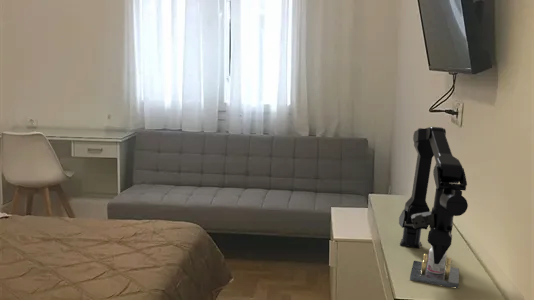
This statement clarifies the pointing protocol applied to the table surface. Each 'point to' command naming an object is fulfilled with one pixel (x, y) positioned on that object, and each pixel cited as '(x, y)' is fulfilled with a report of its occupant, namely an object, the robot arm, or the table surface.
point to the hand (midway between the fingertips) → (436, 258)
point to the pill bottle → (435, 267)
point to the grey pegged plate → (445, 279)
